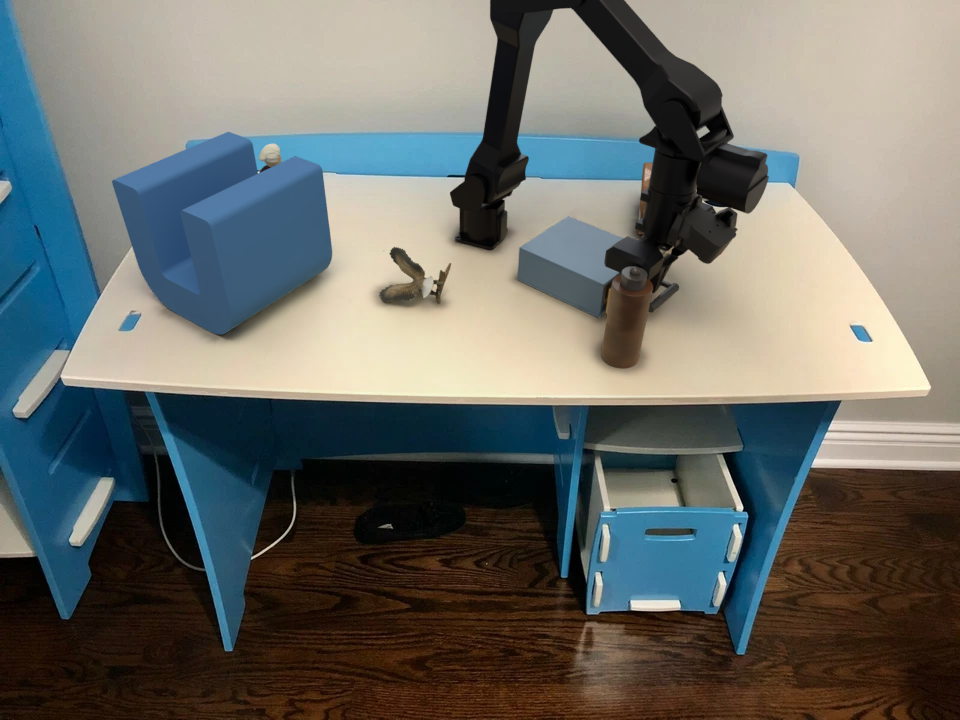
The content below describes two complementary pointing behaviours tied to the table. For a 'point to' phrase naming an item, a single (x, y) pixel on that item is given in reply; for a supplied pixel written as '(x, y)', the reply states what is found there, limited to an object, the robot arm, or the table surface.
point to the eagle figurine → (418, 283)
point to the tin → (644, 188)
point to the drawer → (656, 302)
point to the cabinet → (569, 264)
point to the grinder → (626, 317)
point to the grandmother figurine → (270, 156)
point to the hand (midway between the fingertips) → (652, 291)
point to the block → (225, 229)
